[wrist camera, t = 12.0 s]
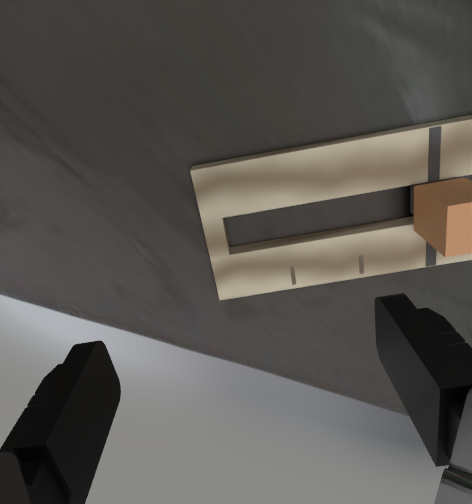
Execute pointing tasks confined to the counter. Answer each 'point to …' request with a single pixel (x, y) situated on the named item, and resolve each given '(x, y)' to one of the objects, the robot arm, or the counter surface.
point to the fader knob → (444, 214)
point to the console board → (323, 188)
